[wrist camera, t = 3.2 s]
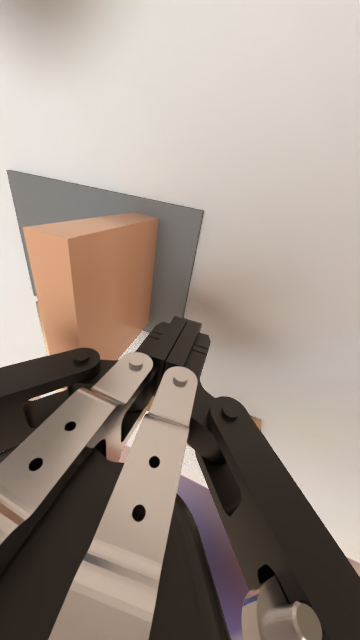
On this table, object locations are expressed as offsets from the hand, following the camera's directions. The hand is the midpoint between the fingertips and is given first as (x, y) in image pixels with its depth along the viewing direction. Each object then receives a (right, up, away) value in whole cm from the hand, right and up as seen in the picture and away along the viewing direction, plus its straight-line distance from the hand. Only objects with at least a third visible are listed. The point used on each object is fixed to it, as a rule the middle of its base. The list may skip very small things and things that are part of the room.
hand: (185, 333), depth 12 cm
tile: (-3, +4, +6) cm, 8 cm away
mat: (-7, +6, +7) cm, 12 cm away
